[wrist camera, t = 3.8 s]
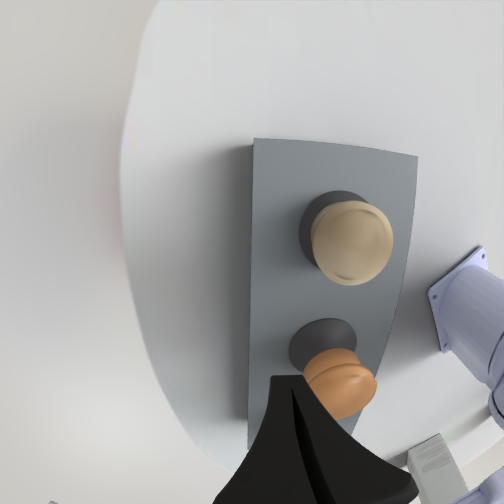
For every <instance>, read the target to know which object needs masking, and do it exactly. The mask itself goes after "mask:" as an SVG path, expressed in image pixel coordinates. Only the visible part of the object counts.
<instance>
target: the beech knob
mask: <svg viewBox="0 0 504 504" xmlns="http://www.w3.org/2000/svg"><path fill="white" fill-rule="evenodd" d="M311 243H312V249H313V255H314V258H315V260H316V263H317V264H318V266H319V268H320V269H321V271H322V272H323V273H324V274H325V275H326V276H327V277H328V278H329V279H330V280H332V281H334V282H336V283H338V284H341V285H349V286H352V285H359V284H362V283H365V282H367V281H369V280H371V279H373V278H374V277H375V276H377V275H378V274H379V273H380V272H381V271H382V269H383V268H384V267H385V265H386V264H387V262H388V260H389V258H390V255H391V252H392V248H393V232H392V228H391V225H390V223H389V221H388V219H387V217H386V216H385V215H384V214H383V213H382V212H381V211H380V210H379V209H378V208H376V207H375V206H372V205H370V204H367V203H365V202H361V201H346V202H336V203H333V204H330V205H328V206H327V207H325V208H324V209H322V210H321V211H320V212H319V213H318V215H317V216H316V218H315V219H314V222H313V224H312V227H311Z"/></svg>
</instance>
